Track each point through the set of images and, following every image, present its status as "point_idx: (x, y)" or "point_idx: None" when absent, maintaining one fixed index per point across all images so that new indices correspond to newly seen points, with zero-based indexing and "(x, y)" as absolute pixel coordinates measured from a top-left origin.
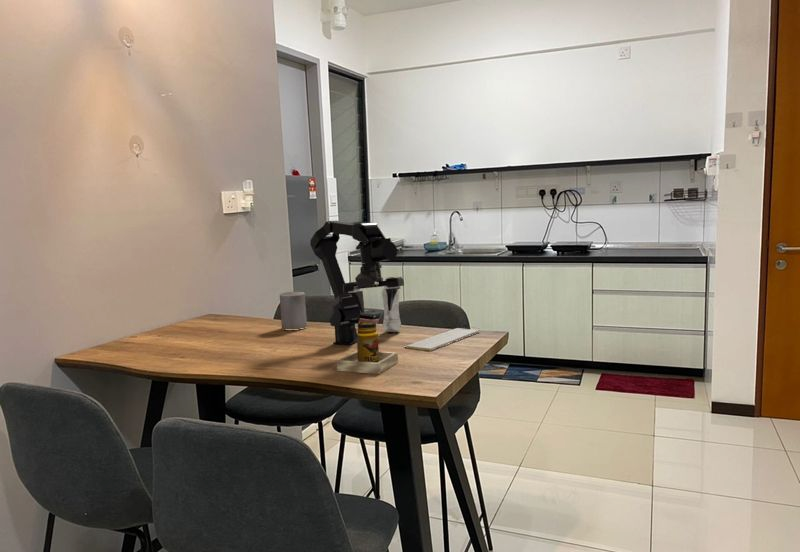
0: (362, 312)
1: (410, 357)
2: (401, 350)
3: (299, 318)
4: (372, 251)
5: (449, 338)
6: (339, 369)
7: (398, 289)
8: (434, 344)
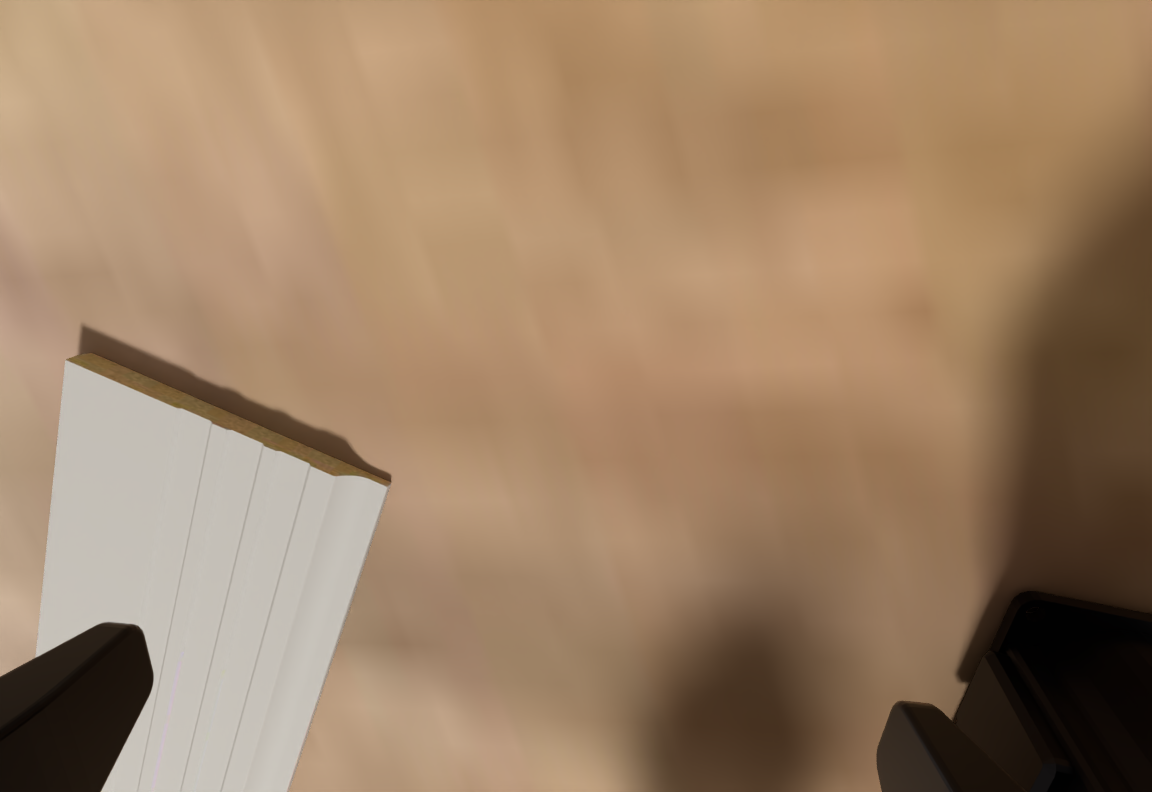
0: (912, 710)
1: (161, 74)
2: (369, 377)
3: None
4: None
5: None
6: None
7: None
8: (105, 519)
